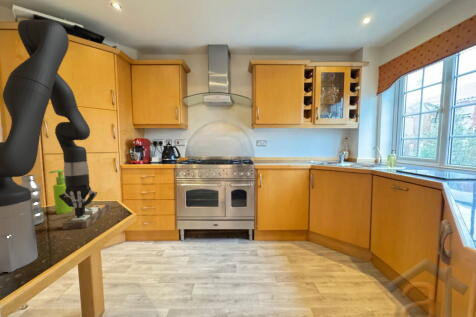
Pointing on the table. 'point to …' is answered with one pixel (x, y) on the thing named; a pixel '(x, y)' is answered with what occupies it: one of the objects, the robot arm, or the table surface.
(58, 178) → the soap dispenser
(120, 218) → the table surface
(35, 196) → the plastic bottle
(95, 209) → the three dot button
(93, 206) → the one dot button
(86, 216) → the two dot button
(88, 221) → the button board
